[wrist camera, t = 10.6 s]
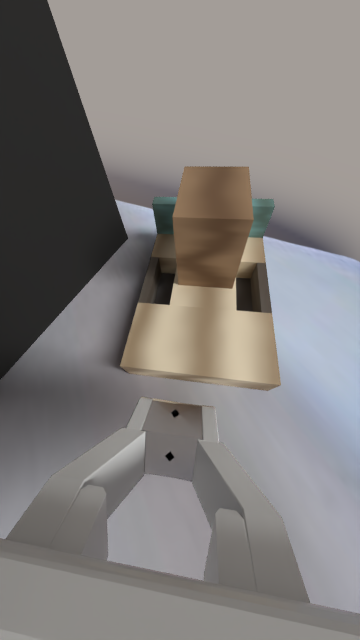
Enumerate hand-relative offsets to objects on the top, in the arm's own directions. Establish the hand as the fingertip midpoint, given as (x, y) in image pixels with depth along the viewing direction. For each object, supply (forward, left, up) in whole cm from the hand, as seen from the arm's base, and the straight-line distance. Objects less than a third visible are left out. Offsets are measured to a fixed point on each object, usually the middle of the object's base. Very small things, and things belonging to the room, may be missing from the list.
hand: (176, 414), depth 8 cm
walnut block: (+1, +17, -8) cm, 19 cm away
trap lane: (+1, +13, -11) cm, 17 cm away
